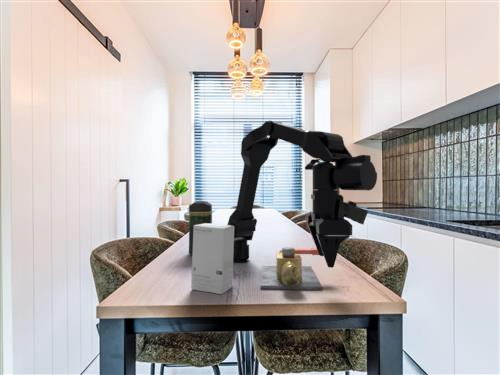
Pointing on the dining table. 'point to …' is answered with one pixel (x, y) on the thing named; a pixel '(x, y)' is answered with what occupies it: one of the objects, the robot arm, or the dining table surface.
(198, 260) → the skincare box
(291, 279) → the valve body
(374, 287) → the dining table surface
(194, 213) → the coffee jar
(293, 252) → the lever
